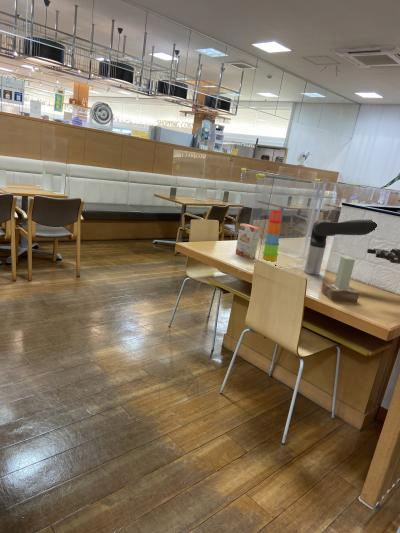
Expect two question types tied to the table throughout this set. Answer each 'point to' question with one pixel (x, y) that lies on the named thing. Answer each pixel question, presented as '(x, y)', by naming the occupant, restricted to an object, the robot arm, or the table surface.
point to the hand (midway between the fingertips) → (371, 253)
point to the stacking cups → (272, 236)
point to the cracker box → (247, 240)
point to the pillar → (344, 272)
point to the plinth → (339, 293)
